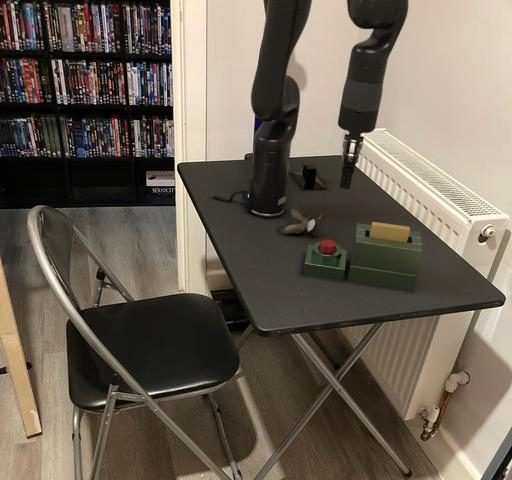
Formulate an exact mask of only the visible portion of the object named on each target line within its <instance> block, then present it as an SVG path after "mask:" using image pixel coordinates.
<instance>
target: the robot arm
mask: <svg viewBox="0 0 512 480" xmlns="http://www.w3.org/2000/svg"><path fill="white" fill-rule="evenodd" d="M312 3H313V0H267V3H266V4H267V5H266V13H265V22H264V27H263V31H262V39H261V47H260V53H259V57H258V61H257V66H256V70H255V74H254V78H253V83H252V87H251V91H250V105H251V109H252V112H253V114H254V115H255V118H257V119H258V120H259V121H260V122H261V121H262V123H261V124H260V126H259V128H257V130H256V131H255V133H254V135H253V147H252V149H253V150H252V163H251V175H250V177H249V182H245V184H244V186H243V188H242V189H241V190H236V191H234V192H232V193H230V196H229V198H225V197H221V196H219V195H217V194H214V195H213V198H214V199H217V200H219V201H222V202H226V203H229V202H232V201H233V199H234V196H236V195H239V194H241V200H242V201H247V213H249V214H252V215H254V216H257V217H260V218H268V219H269V218H272V219H273V218H278V217H281V216H282V215H284V213H285V203H286V201H287V196H286V195H287V194H286V193H287V187H288V185H287V184H288V177H289V167H290V158H291V149H292V148H291V147H292V142H293V140H294V138H295V135H296V132H297V127H298V120H299V119H298V118H299V113H300V108H301V107H300V106H301V91H300V87H299V84H298V83H297V81H296V80H295V78H294V77H292V76H290V75H288V74H287V73H288V68H289V63H290V60H291V57H292V55H293V52H294V50H295V48H296V46H297V45H298V42H299V40H300V39H301V36H302V35H303V32H304V30H305V28H306V26H307V23H308V20H309V17H310V14H311V8H312ZM409 5H410V3H409V0H346V7H347V14H348V17H349V20H350V21H351V22H352V24H353V25H354V26H355V27H357V28H359V29H361V30H372V32H371V33H370V35H369V37H368V38H367V39H365V40H362V41H359V42H357V43H356V44H354V45H353V47H352V48H351V52H350V54H349V62H348V67H347V73H346V78H345V82H344V85H343V89H342V95H341V101H340V107H339V111H338V119H337V125H338V127H339V128H340V129H341V130H344V131H347V132H348V133H344V138H343V142H342V155H341V161H342V162H343V163H342V165H341V177H340V181H339V182H340V183H339V188H340V189H344V190H350V188H351V184H352V179H353V174H354V173H355V171H356V164H358V163H359V159H360V154H361V151H362V150H363V145H364V139H365V136H362V134H369V133H372V132H374V131H375V130H376V126H377V120H378V117H379V111H380V108H381V102H382V97H383V91H384V81H385V76H386V72H387V67H388V61H389V58H390V55H391V53H392V51H393V50H394V48H395V45H396V43H397V40H398V39H399V36H400V34H401V32H402V29H403V28H404V25H405V22H406V20H407V17H408V13H409Z"/></svg>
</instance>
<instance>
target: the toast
mask: <svg viewBox="0 0 512 480" xmlns="http://www.w3.org/2000/svg"><path fill="white" fill-rule="evenodd" d="M370 225H371V230H370V235H369V237H372V238H378V239H385V240H392V241H399V242H406V243H407V240H408V236H409V233H410V231H411V227H410V226H407V225H398V224H393V223H385V222H377V221H372V222H371V224H370Z"/></svg>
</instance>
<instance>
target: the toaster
mask: <svg viewBox="0 0 512 480" xmlns="http://www.w3.org/2000/svg"><path fill="white" fill-rule="evenodd" d="M371 225H372V224H367V223H360V222H356V226H355V230H354V236H353V241H352V245H351V251H350V256H349V261H348V272H347V282H348V283H354V284H362V285H367V286H374V287H381V288H387V289H393V290H401V291H406V292H407V291H408V292H412V289H413V286H414V283H415V280H416V276H417V273H418V268H419V265H420V261H421V258H422V254H423V244H422V236H421V231H415V230H410V233H409V236H408V240H407V243H406V242H399V241H392V240H385V239H378V238H372V237H369V235H370V230H371Z"/></svg>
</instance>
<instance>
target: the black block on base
mask: <svg viewBox="0 0 512 480" xmlns="http://www.w3.org/2000/svg"><path fill="white" fill-rule="evenodd" d="M317 169H318V168H317V167H316V166H315V164H314V163H303V167H302V171H292V172H291V173H290V174H291V176H292V177H293V178H294V179H295V181H296V182H297V184H298V185H299V186H300V188H301V189H302V190H303V191H314V190H315V191H317V190H326V189H327V187H326V186H325V184H324V183H323V182H322V181H321V179H320V178H319V177H318V176H317V173H318V172H317V171H318V170H317Z"/></svg>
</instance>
